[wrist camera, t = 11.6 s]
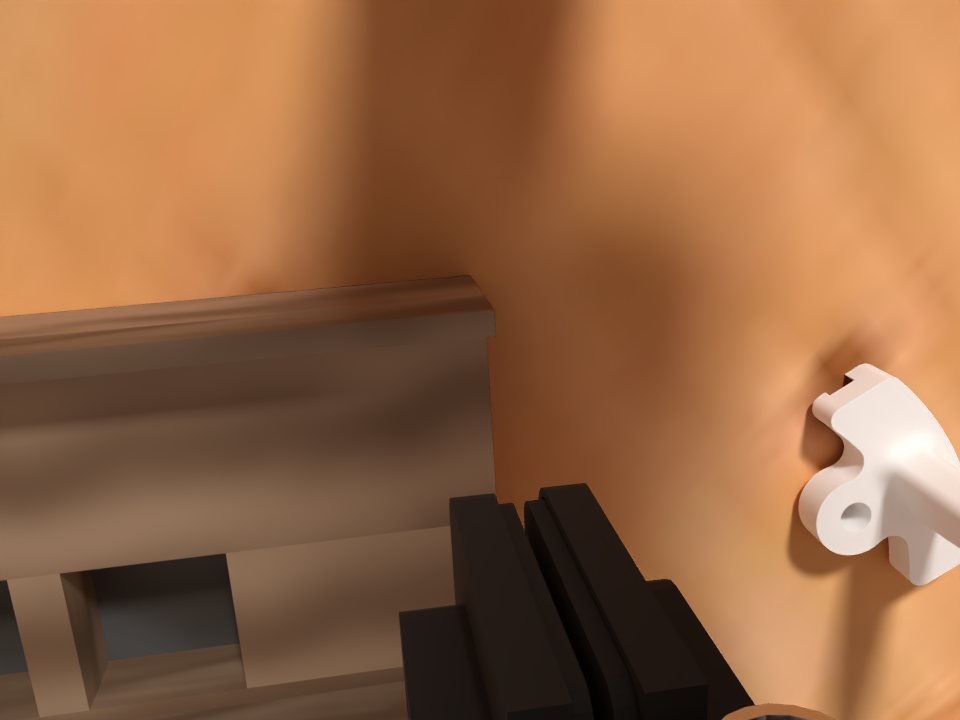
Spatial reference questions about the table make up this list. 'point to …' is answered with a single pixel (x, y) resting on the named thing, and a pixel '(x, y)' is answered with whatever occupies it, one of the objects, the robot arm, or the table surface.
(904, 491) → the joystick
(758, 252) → the table surface
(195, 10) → the table surface
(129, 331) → the box
